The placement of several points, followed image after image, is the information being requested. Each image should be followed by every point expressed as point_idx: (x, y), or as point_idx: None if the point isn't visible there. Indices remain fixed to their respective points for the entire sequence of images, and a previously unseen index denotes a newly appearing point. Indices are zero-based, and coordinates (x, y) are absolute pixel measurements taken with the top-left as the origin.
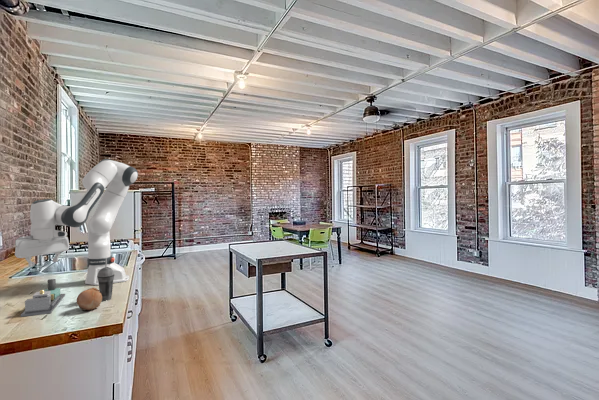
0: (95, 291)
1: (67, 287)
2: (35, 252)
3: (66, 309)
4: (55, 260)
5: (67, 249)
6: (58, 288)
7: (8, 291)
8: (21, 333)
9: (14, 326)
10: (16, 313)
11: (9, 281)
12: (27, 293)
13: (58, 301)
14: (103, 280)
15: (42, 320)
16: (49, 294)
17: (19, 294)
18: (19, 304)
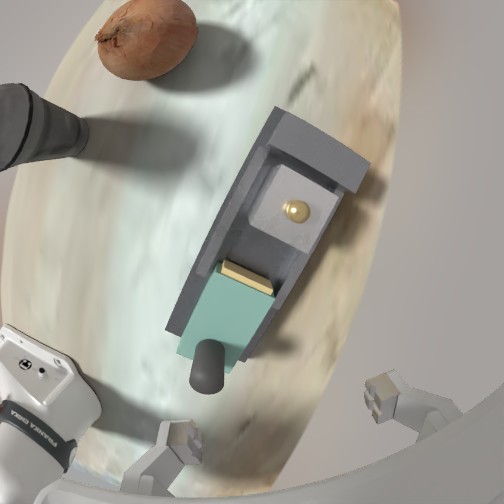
0: (122, 6)
1: (148, 408)
2: (436, 472)
3: (216, 109)
4: (181, 429)
5: (54, 485)
6: (183, 349)
7: (283, 458)
8: (372, 15)
9: (383, 79)
10: (355, 218)
11: None
12: (256, 426)
13: (212, 225)
14: (34, 92)
15: (314, 56)
16: (259, 201)
17: (274, 428)
18: (314, 330)
